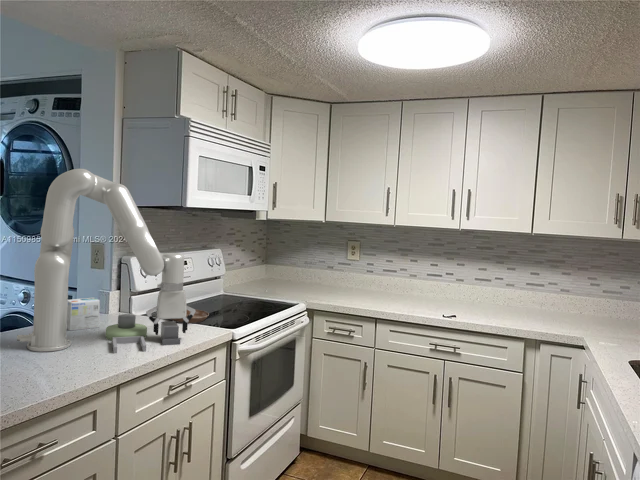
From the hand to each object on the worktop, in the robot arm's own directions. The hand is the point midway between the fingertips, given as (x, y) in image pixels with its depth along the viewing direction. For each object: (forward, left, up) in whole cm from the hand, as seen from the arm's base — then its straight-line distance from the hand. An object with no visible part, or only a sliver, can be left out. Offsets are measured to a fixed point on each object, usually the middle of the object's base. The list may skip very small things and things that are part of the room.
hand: (170, 333), depth 170 cm
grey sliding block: (0, 0, -3) cm, 3 cm away
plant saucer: (+12, +30, -3) cm, 32 cm away
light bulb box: (-29, +23, -3) cm, 37 cm away
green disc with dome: (-14, +2, -3) cm, 15 cm away
